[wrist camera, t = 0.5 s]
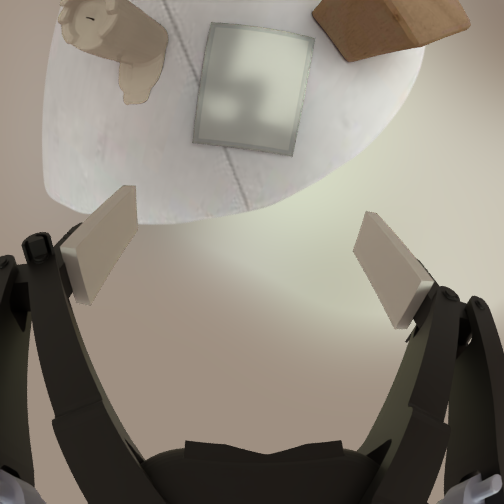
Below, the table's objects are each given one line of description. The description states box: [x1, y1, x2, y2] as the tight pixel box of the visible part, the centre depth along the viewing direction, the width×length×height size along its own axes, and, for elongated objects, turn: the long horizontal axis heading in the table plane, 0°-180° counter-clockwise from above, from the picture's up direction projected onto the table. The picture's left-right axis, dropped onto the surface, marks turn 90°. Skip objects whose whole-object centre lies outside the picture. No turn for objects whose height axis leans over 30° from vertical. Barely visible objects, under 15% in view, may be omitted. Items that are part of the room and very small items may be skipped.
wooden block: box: [312, 0, 471, 62], centre depth 20 cm, size 10×10×20 cm
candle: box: [58, 0, 168, 105], centre depth 22 cm, size 7×14×20 cm, turn 170°
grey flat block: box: [192, 22, 315, 157], centre depth 33 cm, size 18×14×3 cm
